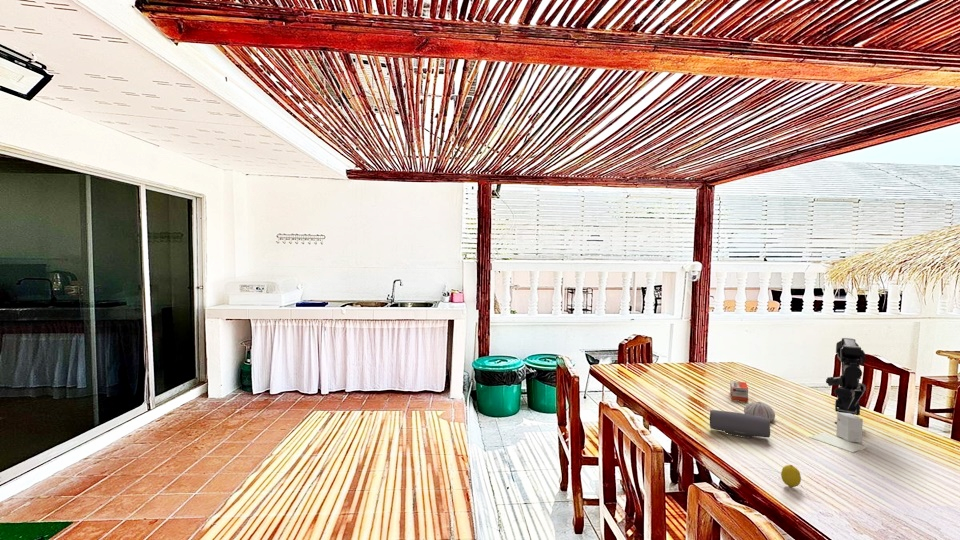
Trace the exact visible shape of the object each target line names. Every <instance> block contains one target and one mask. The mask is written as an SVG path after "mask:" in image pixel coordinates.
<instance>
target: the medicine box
mask: <svg viewBox="0 0 960 540" xmlns="http://www.w3.org/2000/svg"><path fill="white" fill-rule="evenodd" d="M729 384H730V391H729V392H730V397H731V398H730V399H731V400H732V401H735V402H743V403H749V386H748V385H747V382H745V381H744V382H743V381H737V380H730V383H729Z"/></svg>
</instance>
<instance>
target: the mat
mask: <svg viewBox="0 0 960 540" xmlns="http://www.w3.org/2000/svg"><path fill="white" fill-rule="evenodd" d="M809 438H811V440H816V441H819V442H820V443H821V442H822V443H824V444H828V445H829V446H833V447H836V448H838V449H840V450H844V451H847V452H849V453H855V452H859V451H861V450H865V449H867V446H864V445H860V444H858V443H856V442H849V441H846V440H845V439H843V438H841V437H838V436H837V437H836V436H834V435H831V434H828V433H825V432H822V433H818V434H813V435H812V436H811V435H810V436H809Z"/></svg>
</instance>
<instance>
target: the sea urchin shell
mask: <svg viewBox="0 0 960 540" xmlns="http://www.w3.org/2000/svg"><path fill="white" fill-rule="evenodd" d="M743 412H744V413H743V414H749V415H755V416H760V417H765V418H769V421H770V422H771V421H772V422H773V421H774V420H775V418H776V413H775V411H774V409H773V408H772V407H771V406H770V405H769V404H767V403H765V402H762V401H752V402H748V404H747V405H745V407H744V408H743Z"/></svg>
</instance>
